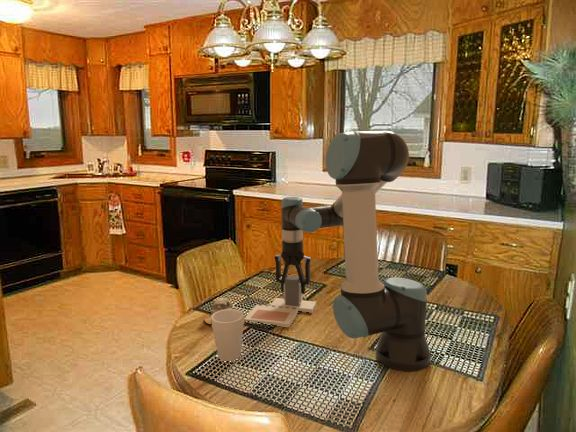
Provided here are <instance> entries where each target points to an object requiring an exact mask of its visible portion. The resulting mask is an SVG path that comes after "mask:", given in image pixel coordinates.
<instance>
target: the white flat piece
mask: <svg viewBox="0 0 576 432" xmlns="http://www.w3.org/2000/svg"><path fill="white" fill-rule="evenodd" d="M298 311H299V309H298V308H289V307H279V306H270V304H269V305H268V304H260V303H259V304H256V305H254V307H253V308H252V309H251V310H250V311H249V312H248V313H247V315H246V316H244V321H251V322H252V321H253V322H261V323H267V324H273V325H277V326H283V327H289V326H290V325H291V326H292V324H291V323H293V322H294V321H293V320H295V319H296V317H297V316H298V314H299V312H298ZM297 313H298V314H297ZM296 315H297V316H296ZM295 316H296V317H295ZM294 318H295V319H294ZM291 326H290V327H291ZM290 327H289V328H290Z"/></svg>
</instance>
